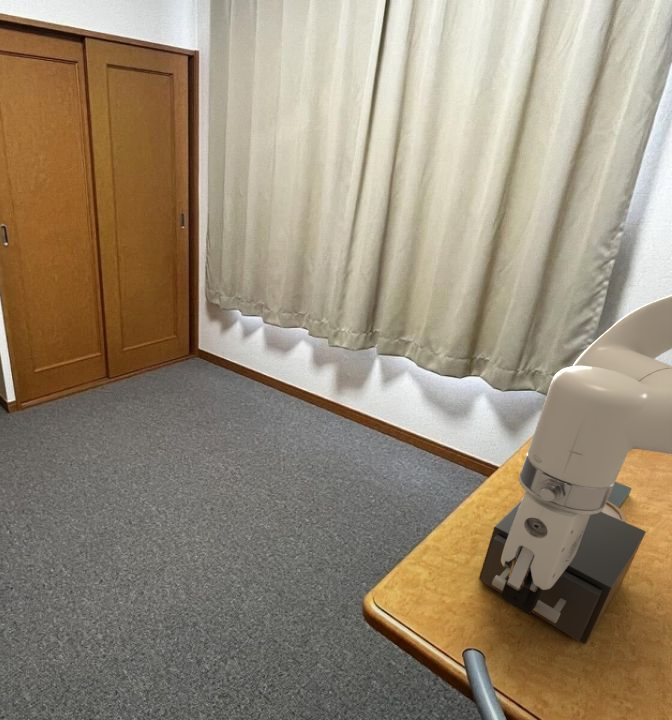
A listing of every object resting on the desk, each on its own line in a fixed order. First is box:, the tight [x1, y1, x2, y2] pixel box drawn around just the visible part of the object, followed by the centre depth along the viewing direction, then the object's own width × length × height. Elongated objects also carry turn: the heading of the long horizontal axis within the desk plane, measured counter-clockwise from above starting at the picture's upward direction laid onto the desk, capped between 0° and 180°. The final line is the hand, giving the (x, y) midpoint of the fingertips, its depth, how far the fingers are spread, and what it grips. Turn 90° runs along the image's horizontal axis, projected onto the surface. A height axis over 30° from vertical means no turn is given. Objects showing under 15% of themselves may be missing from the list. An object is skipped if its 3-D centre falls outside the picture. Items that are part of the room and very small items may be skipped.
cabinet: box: [478, 499, 647, 645], centre depth 65 cm, size 15×13×10 cm
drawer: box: [480, 535, 602, 642], centre depth 63 cm, size 17×11×8 cm, turn 127°
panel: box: [608, 481, 633, 509], centre depth 84 cm, size 12×9×4 cm
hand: (517, 602), depth 58 cm, fingers closed
